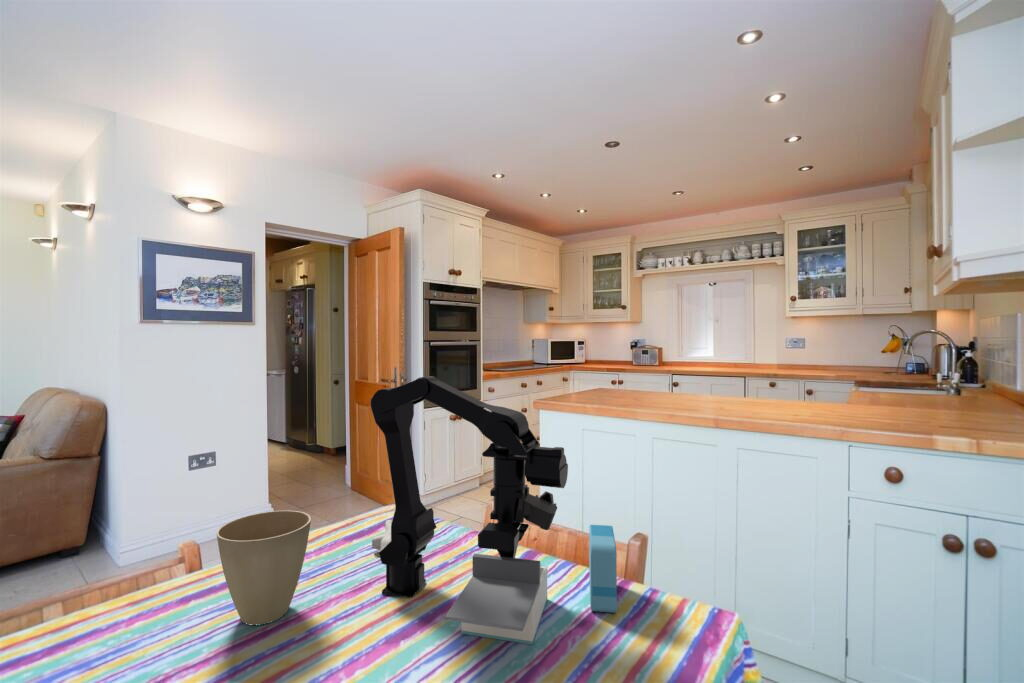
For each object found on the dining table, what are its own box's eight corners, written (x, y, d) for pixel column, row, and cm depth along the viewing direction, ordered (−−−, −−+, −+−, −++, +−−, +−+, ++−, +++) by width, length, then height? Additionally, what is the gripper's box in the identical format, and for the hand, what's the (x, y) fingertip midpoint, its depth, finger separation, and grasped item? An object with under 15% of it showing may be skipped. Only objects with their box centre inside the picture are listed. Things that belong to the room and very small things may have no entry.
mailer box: (461, 633, 78) (461, 597, 78) (486, 590, 92) (486, 559, 92) (532, 644, 75) (532, 606, 75) (547, 598, 89) (547, 566, 89)
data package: (616, 616, 83) (616, 548, 83) (590, 614, 84) (590, 547, 84) (612, 582, 95) (611, 523, 95) (589, 581, 96) (589, 522, 96)
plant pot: (328, 602, 88) (328, 516, 88) (255, 649, 74) (256, 547, 74) (273, 585, 94) (273, 505, 94) (196, 625, 80) (196, 531, 81)
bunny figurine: (367, 544, 104) (381, 512, 119) (367, 566, 105) (382, 531, 120) (410, 543, 105) (419, 511, 120) (410, 564, 105) (419, 530, 120)
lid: (445, 619, 71) (445, 593, 71) (474, 575, 85) (474, 553, 85) (522, 631, 68) (522, 603, 68) (540, 584, 82) (540, 560, 82)
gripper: (544, 502, 74) (544, 601, 74) (560, 471, 92) (561, 551, 92) (476, 496, 77) (476, 592, 77) (506, 467, 95) (506, 545, 95)
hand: (509, 568), depth 85 cm, fingers closed
